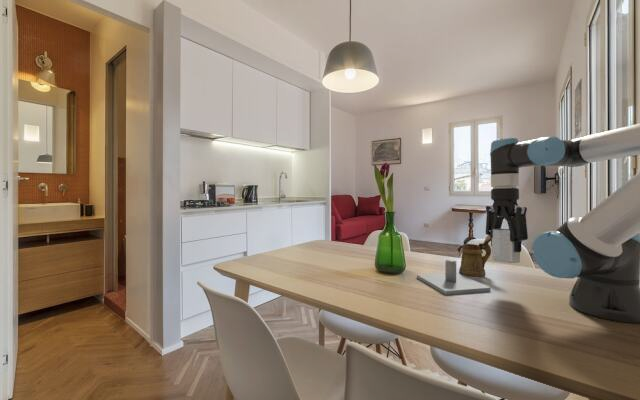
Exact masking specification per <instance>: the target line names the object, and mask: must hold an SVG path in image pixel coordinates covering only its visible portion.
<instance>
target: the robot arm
mask: <svg viewBox="0 0 640 400" xmlns="http://www.w3.org/2000/svg"><path fill="white" fill-rule="evenodd" d="M489 155H490V187H491V188H492V189H490V199H491V201H493V203H492V205H486V206H485V210H486V220H485V221H486V223H485V234H486V235H487V236H488V235H489V236H490V237H491V241H490V248H491V258H493V228H494V229H496V228H502V225H503V221H504V219H505V221H506V222H507V226H508V229H509V230H510V233H511V236H512V240H511V241H510V262H512V263H511V264H515V263H516V262H518V263H521V252H522V242H523V241H527V240H528V239H529V235H528V228H527V227H528V226H527V225H528V224H527V210H528V209H527V208H528V207H526V206H520V205H519V203H518V200H520V189H519V186H520V184H519V183H520V181H519V180H520V179H519V178H520V176H519V175H520V174H519V173H520V172H519V171H520V168H528V167H567V168H573V167H574V168H575V167H583V166H586V165H588V164H590V163H595V162H603V161H608V160H614V159H620V158H628V157H634V156H639V155H640V122H639V123H635V124H632V125H627V126H623V127H618V128H615V129H611V130H607V131H602V132H598V133H594V134H590V135H586V136H582V137H578V138H574V139H569V140H567V139H564V140H563V139H560V138H559V137H558V136H553V135H552V136H546V137H545V136H544V137H543V136H541V137H538V138H535V139H531V140H530V139H529V140H525V141H521V142H519V139H518V138H517V137H504V138H497V139H495V140H492V142H491V144H490V152H489ZM517 187H518V188H517ZM516 236H517V237H516ZM531 249H532V251H533V252H532V256H533V259H534V261H535V262H536V264H537V266H538V267H539V268H540V269H541V270H542V271H543V272H544V273H546V274H547V275H549V276H550V277H553V278H557V279H576V278H577V279H576V281H575V283H574V286H573V287H572V289H571V291H570V294H569V298H568V302H569V303H568V304H569V306H570V307H572V308H574V309H575V310H577V311H578V312H579V311H580V312H582V313H585V314H587V315H590V316H593V317H596V318H601V319H605V320H610V321H615V322H621V323H631V324H640V171H638V172H637V173H636V174H635V175H633V176H632V177H630V179H628V180H627V181H625V183H624V184H623V185H621V186H620V187H618V188H617V189H616V190H615V191H614V192H613V193H611V194H610V195H608V196H607V197H606V198H605V199H604V200H602V201H601V202H600V203H598V205H596V206H595V207H594V208H593V209H591V210H590V211H589V212H588V213H586V214H584V216H573V217H570V218H569V219H567V220H566V221H565V222H564V223H562V225H560V226H559V227H558V228H557V229H555V230H547V231H545V232H542V233H540V234H538V235H537V236H536V237H535V238H534V240H533V242H532V247H531Z"/></svg>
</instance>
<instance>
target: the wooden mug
mask: <svg viewBox="0 0 640 400" xmlns="http://www.w3.org/2000/svg"><path fill="white" fill-rule="evenodd" d="M489 243H491V237H490V236H489V235H487V236H486V237H485V238H484V241H483V242H482V243H478V244H473V243H463V245H462V248H461V252H462V253H461V259H460V260H461V261H460V267H459V269H458V272H459V273H458V274H460V275H463V276H468V277H484V276H485V275H486V270H485V265H486V263H487V262H488V260H489V258H490V256H492V247H491V245H490V244H489ZM483 250H484V251H485V254H484V255H483V253H484V251H483Z"/></svg>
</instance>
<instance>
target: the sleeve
mask: <svg viewBox="0 0 640 400" xmlns="http://www.w3.org/2000/svg"><path fill="white" fill-rule="evenodd" d="M516 237H517V236H516ZM511 240H512V236H511V233H510V230H509V227H508V228H506V227H503V228H502V227H501V228H496V229H494V228H493V257H492V260H493V261H494V262H498V263H506V264H513V263H512V262H510V241H511ZM516 263H519V262H516Z"/></svg>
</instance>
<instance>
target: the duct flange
mask: <svg viewBox="0 0 640 400" xmlns="http://www.w3.org/2000/svg"><path fill="white" fill-rule="evenodd" d="M444 263H445V265H444V266H445V268H444V269H445V270H444V271H445V272H438V273H421V274H416V279H418V280H420V281H421V282H423V283H425V284H427V285H429V286H430V287H432V288H434V289H435V290H437V291H438V292H440V293H442V294H443V295H446V296H449V295H450V296H451V295H462V294H473V293H483V292H484V293H486V292H491V290H492V289H491V287H490V286H487V285H486V284H483V283H481V282H478V281H477V280H474V279H472V278H470V277H467V276H466V275H464V274H461V273H458V272H457V260H455V259H445V262H444Z"/></svg>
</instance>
